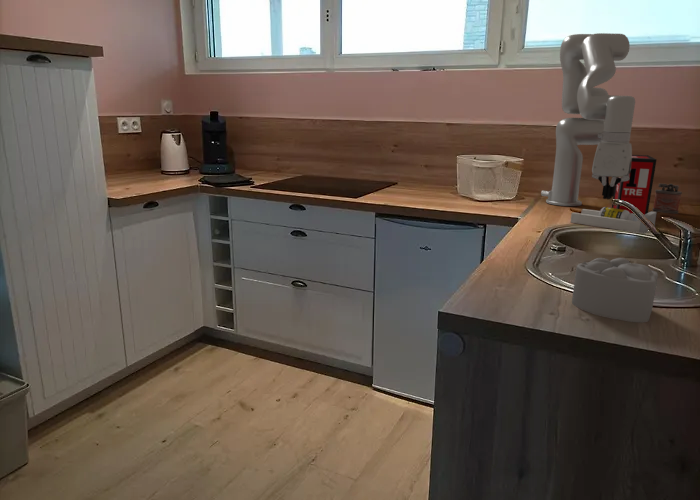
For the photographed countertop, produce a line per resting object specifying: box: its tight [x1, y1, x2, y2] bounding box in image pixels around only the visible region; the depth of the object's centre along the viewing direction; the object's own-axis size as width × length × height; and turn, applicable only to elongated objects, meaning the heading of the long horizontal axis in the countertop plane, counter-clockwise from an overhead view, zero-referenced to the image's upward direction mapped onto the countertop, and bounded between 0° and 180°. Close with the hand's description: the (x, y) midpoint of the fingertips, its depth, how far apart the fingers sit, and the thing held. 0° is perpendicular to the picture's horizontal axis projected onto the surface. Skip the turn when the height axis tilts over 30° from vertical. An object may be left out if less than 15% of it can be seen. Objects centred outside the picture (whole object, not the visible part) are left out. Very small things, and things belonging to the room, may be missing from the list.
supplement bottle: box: [599, 206, 637, 221], centre depth 166 cm, size 5×5×10 cm
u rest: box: [569, 208, 658, 234], centre depth 168 cm, size 22×10×5 cm, turn 48°
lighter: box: [652, 183, 683, 215], centre depth 191 cm, size 8×3×10 cm, turn 58°
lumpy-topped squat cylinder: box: [571, 257, 659, 323], centre depth 97 cm, size 10×13×9 cm
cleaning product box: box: [611, 154, 657, 215], centre depth 181 cm, size 16×9×20 cm, turn 160°
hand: (607, 198), depth 168 cm, fingers closed
